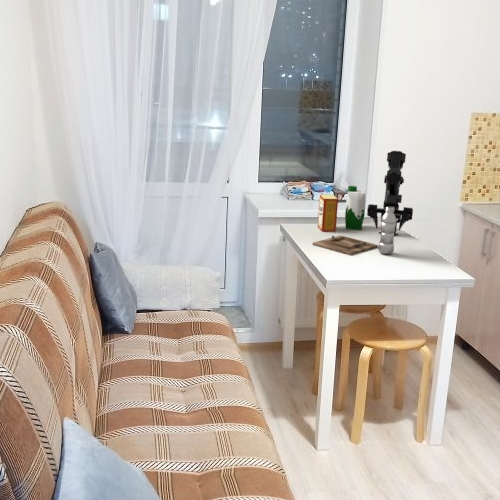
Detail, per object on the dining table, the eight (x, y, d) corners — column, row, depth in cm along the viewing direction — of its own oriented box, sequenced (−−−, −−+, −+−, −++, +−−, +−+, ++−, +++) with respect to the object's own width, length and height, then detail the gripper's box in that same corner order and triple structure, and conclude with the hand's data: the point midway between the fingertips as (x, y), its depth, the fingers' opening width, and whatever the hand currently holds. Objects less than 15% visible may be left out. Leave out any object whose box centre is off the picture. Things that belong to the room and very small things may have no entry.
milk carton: (344, 224, 322) (348, 184, 317) (363, 226, 321) (367, 186, 315) (343, 229, 314) (346, 187, 309) (362, 230, 313) (366, 189, 307)
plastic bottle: (392, 251, 279) (397, 205, 274) (394, 256, 273) (399, 209, 267) (377, 250, 280) (381, 204, 274) (378, 255, 273) (383, 208, 268)
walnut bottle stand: (340, 237, 299) (341, 231, 298) (377, 247, 285) (378, 240, 285) (312, 244, 285) (313, 238, 284) (350, 255, 272) (350, 248, 271)
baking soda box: (317, 226, 317) (319, 194, 312) (330, 226, 318) (333, 194, 313) (322, 231, 308) (324, 198, 303) (335, 231, 309) (338, 198, 304)
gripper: (369, 185, 277) (365, 216, 270) (415, 188, 273) (412, 220, 266) (369, 200, 287) (365, 230, 279) (413, 204, 282) (410, 234, 275)
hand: (387, 228), depth 274 cm, fingers open, 9 cm apart
